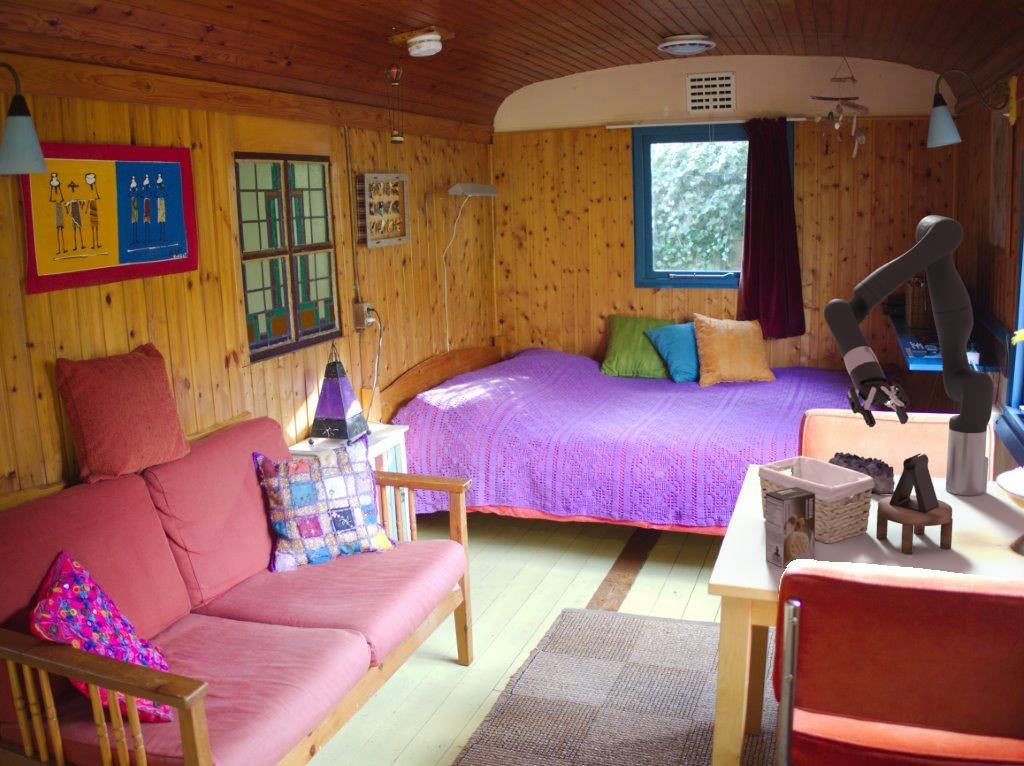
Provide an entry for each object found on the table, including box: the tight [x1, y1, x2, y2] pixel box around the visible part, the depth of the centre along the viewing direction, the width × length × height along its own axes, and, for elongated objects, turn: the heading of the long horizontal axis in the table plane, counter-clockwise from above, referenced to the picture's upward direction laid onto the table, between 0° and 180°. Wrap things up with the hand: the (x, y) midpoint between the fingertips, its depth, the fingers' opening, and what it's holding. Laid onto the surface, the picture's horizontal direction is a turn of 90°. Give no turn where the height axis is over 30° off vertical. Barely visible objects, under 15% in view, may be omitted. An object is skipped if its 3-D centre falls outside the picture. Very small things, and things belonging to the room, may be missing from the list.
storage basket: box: [757, 455, 874, 544], centre depth 241 cm, size 24×16×15 cm
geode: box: [828, 451, 896, 495], centre depth 272 cm, size 20×12×10 cm, turn 38°
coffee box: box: [765, 487, 816, 569], centre depth 221 cm, size 9×6×16 cm
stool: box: [875, 494, 954, 556], centre depth 229 cm, size 16×16×9 cm
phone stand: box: [889, 452, 939, 513], centre depth 227 cm, size 9×6×12 cm, turn 40°
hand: (889, 424), depth 236 cm, fingers open, 8 cm apart
